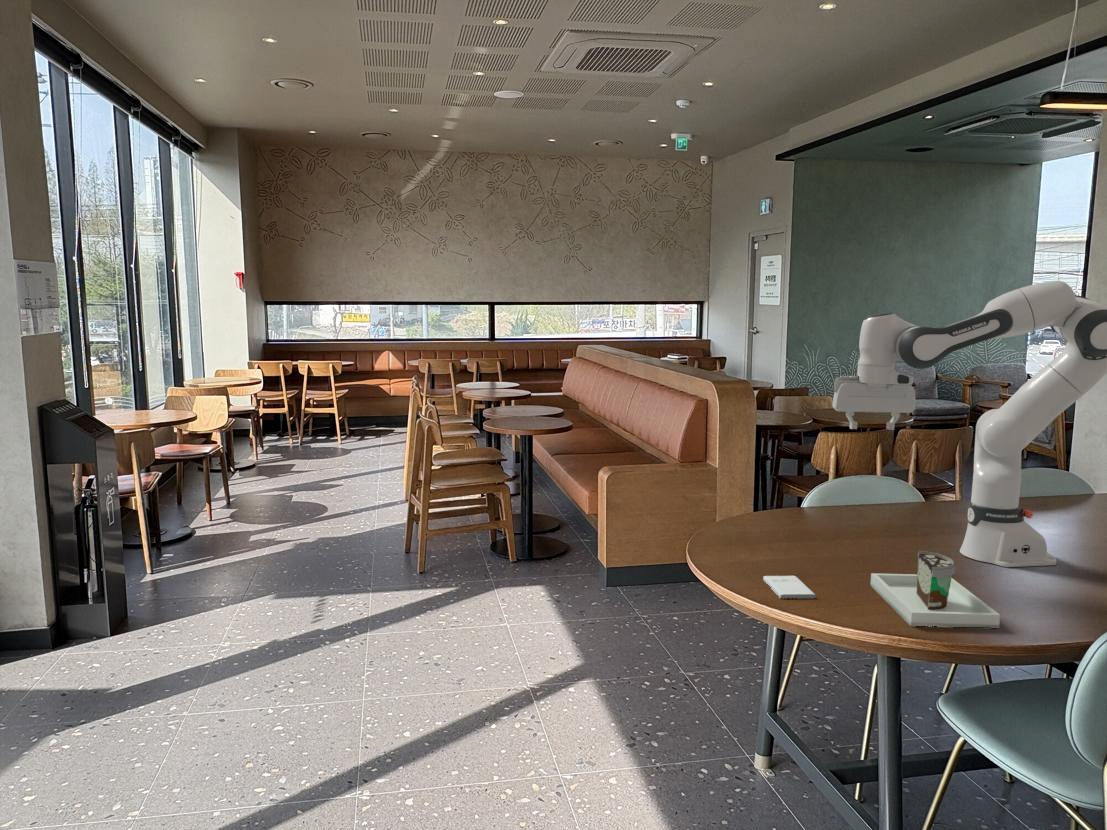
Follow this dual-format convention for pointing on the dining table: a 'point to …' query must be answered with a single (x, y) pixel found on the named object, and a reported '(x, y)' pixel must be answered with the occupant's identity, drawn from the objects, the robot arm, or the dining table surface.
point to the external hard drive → (788, 587)
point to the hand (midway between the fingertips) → (871, 429)
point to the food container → (934, 579)
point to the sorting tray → (957, 613)
